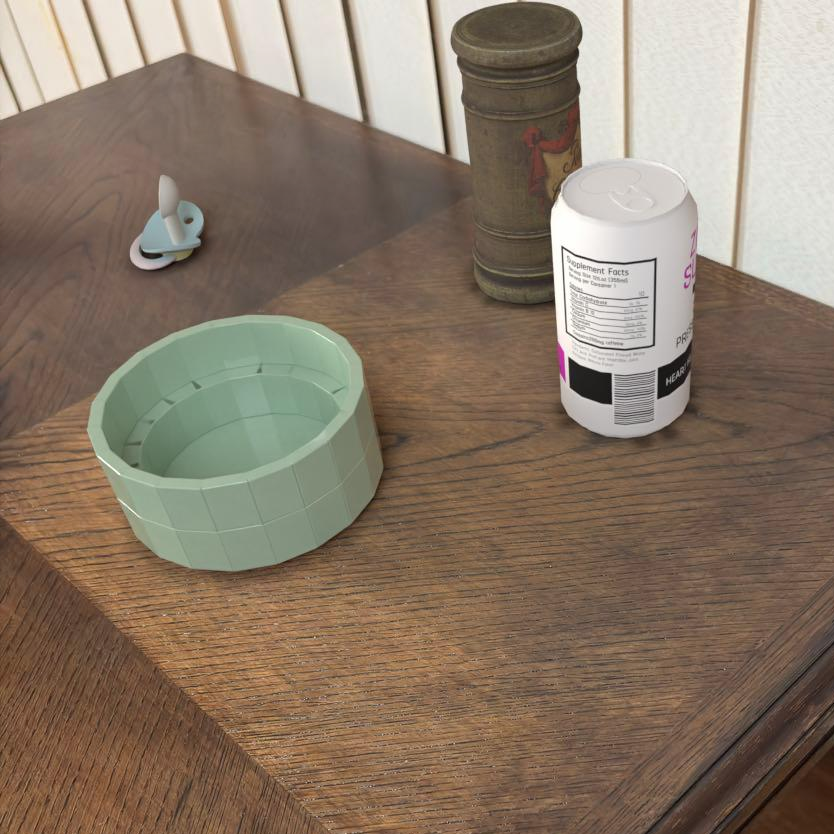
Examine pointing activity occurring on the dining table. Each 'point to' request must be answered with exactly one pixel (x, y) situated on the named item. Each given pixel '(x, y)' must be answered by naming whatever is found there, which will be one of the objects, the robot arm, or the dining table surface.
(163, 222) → the pacifier
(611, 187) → the supplement can
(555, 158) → the container
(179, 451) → the bowl
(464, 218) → the dining table surface
